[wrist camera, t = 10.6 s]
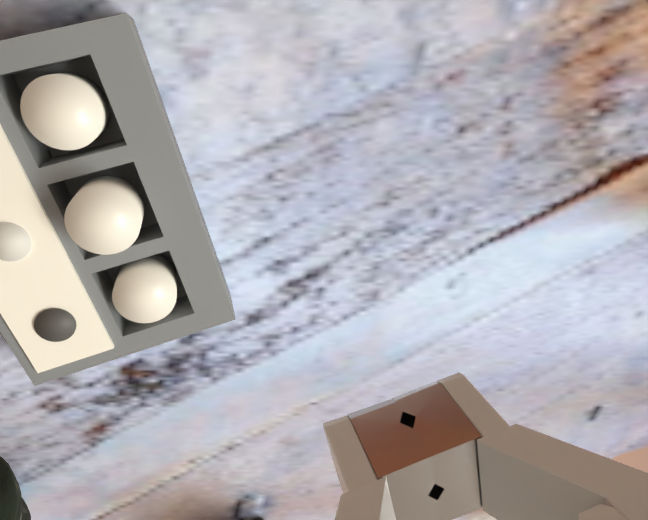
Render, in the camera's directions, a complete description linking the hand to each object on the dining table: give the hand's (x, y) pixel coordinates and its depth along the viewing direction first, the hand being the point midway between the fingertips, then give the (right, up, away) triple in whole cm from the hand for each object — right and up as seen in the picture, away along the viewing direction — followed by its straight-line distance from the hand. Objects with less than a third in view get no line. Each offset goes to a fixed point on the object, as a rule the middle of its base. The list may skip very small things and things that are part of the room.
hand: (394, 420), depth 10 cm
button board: (-18, +7, +22) cm, 29 cm away
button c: (-14, +2, +24) cm, 28 cm away
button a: (-17, +12, +19) cm, 28 cm away
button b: (-15, +7, +20) cm, 26 cm away
